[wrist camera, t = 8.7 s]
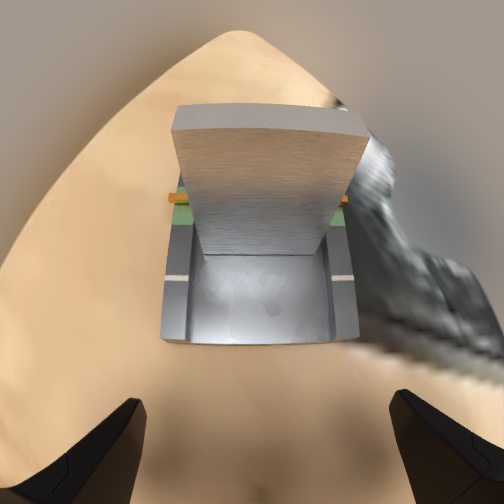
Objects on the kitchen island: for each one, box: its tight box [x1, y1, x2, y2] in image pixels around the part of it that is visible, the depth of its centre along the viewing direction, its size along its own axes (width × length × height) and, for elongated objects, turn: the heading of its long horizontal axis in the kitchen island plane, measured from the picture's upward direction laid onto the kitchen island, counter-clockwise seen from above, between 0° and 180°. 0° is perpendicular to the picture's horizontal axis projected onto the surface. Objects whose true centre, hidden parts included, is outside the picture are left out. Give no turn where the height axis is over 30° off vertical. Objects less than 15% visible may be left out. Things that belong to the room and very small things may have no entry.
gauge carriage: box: [168, 103, 370, 255], centre depth 14 cm, size 4×12×10 cm, turn 90°
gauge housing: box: [160, 172, 360, 346], centre depth 18 cm, size 14×11×4 cm
